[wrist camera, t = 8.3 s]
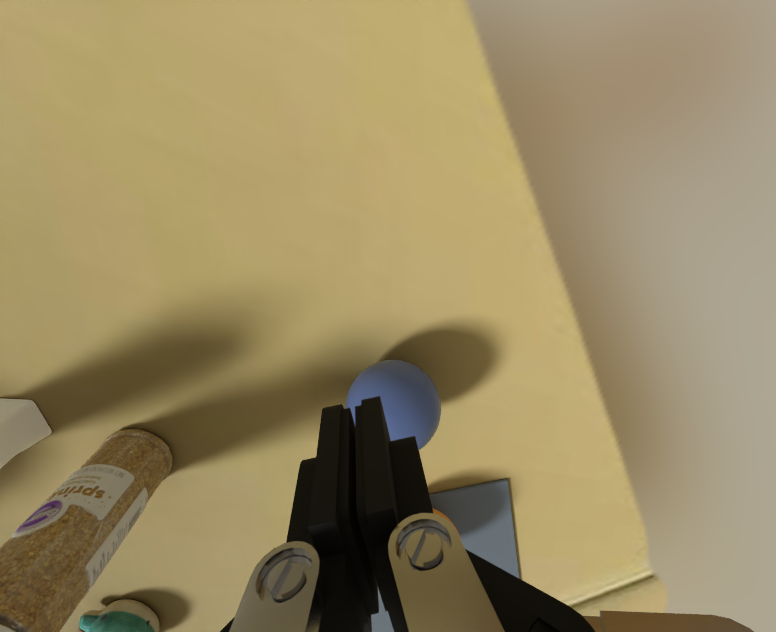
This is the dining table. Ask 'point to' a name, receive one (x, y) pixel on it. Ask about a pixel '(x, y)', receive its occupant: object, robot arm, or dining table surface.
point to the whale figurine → (121, 618)
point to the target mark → (474, 529)
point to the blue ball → (400, 398)
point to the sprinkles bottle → (78, 532)
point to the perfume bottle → (20, 427)
